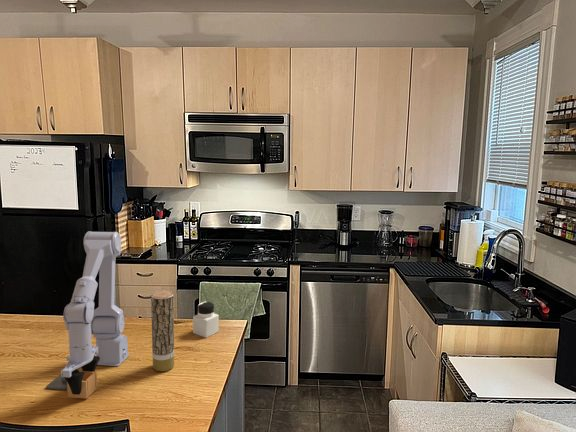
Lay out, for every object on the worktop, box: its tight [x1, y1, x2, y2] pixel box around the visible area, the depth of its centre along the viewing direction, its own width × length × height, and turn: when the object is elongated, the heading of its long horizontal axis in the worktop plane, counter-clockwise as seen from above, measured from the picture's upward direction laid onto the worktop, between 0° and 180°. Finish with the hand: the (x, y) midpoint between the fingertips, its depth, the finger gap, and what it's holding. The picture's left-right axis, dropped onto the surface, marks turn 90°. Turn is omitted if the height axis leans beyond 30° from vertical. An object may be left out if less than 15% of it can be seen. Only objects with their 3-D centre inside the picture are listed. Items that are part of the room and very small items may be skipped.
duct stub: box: [45, 367, 68, 392], centre depth 128 cm, size 8×8×4 cm
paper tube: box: [150, 289, 175, 372], centre depth 137 cm, size 7×7×25 cm
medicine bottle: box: [192, 301, 220, 338], centre depth 165 cm, size 7×7×12 cm
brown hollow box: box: [66, 370, 98, 400], centre depth 122 cm, size 6×6×5 cm
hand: (82, 387), depth 122 cm, fingers closed on brown hollow box, 6 cm apart
